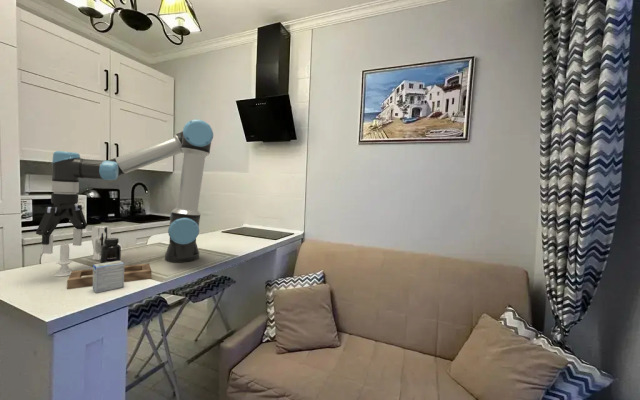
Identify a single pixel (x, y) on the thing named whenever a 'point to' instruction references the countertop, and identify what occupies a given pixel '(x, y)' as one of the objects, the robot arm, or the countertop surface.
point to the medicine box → (108, 276)
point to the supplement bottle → (110, 250)
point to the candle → (64, 261)
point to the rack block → (130, 274)
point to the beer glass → (99, 239)
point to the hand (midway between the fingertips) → (63, 249)
